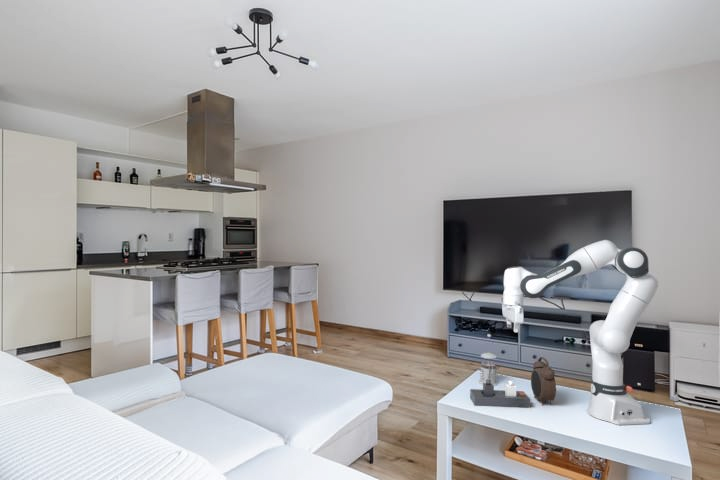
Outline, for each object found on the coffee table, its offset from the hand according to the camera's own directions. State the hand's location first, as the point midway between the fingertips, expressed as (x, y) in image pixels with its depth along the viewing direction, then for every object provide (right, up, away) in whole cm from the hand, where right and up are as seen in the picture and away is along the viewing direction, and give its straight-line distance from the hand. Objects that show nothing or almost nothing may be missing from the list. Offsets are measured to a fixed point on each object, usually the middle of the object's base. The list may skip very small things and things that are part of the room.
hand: (512, 329), depth 193 cm
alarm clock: (+11, -32, -7) cm, 34 cm away
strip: (-9, -31, -9) cm, 33 cm away
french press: (-6, -31, +17) cm, 36 cm away
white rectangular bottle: (-4, -31, -9) cm, 33 cm away
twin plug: (-14, -31, -8) cm, 35 cm away
